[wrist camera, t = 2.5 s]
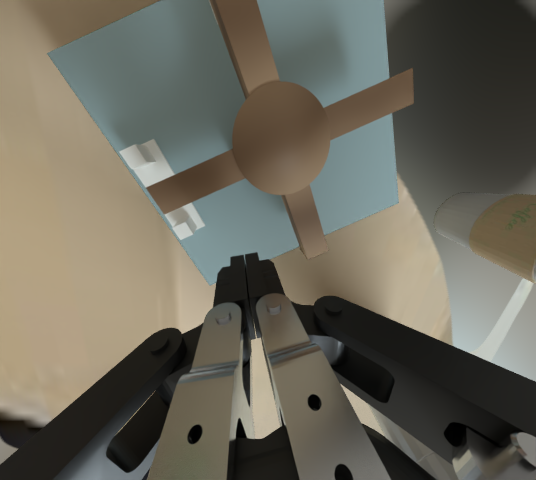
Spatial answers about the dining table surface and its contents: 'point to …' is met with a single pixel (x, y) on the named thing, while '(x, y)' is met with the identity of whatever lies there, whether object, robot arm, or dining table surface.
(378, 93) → the capstan
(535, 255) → the coffee cup
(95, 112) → the stand
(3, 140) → the dining table surface
